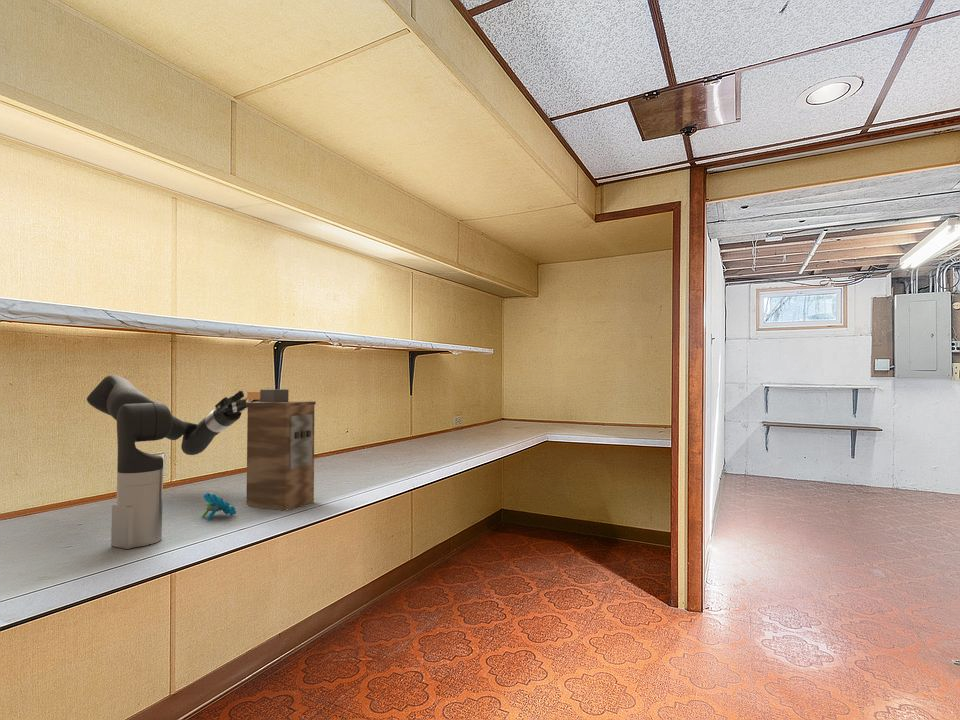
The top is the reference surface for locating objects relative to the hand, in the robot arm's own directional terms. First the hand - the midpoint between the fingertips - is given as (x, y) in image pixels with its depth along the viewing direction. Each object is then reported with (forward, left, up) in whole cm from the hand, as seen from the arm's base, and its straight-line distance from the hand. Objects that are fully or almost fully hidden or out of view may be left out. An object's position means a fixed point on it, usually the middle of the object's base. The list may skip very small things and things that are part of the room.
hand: (253, 392), depth 164 cm
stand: (0, -13, -35) cm, 37 cm away
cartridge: (0, -6, -3) cm, 7 cm away
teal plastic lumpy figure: (-19, -8, -35) cm, 41 cm away
